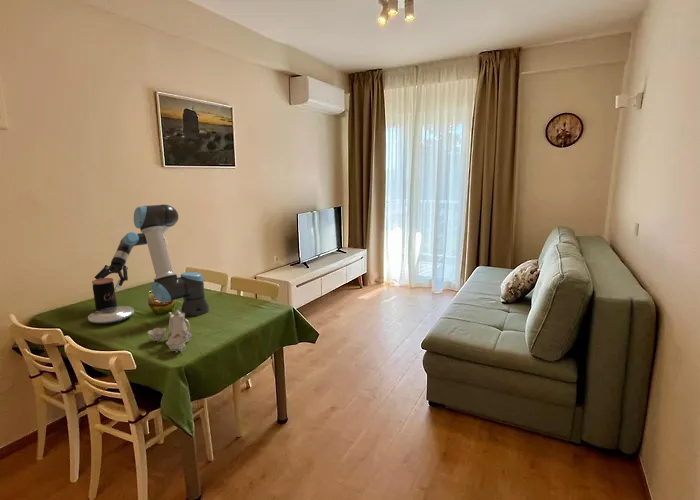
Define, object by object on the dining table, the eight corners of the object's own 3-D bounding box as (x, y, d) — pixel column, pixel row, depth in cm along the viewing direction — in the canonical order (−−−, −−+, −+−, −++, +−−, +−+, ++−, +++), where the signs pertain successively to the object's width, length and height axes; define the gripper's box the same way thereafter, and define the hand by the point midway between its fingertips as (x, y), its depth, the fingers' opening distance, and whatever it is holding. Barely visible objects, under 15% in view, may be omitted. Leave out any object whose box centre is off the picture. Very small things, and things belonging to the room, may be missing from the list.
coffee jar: (107, 313, 226) (102, 283, 222) (91, 312, 228) (87, 282, 225) (121, 306, 237) (117, 278, 233) (106, 305, 239) (102, 277, 235)
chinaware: (142, 345, 188) (134, 314, 183) (173, 330, 202) (166, 301, 197) (178, 360, 174) (171, 327, 169) (209, 342, 187) (202, 311, 182)
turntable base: (134, 314, 224) (134, 310, 224) (115, 325, 209) (115, 321, 208) (109, 313, 226) (108, 310, 226) (88, 324, 210) (87, 320, 210)
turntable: (142, 308, 226) (142, 306, 226) (116, 323, 205) (116, 320, 205) (107, 307, 229) (107, 305, 228) (78, 322, 207) (77, 319, 207)
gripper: (141, 263, 246) (128, 293, 234) (104, 262, 248) (90, 292, 237) (135, 256, 239) (121, 287, 228) (97, 256, 242) (82, 286, 231)
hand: (105, 290), depth 233 cm, fingers open, 13 cm apart
